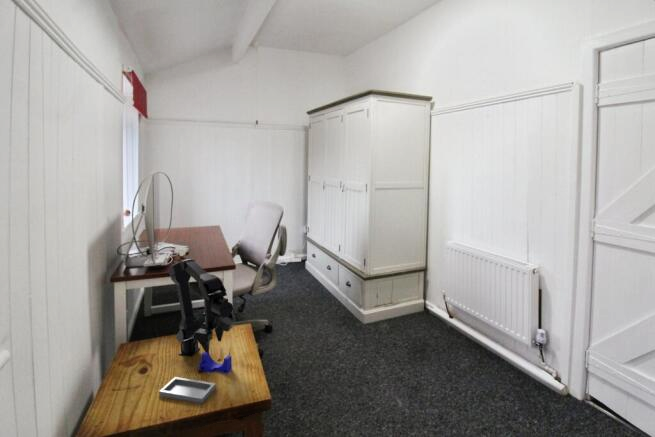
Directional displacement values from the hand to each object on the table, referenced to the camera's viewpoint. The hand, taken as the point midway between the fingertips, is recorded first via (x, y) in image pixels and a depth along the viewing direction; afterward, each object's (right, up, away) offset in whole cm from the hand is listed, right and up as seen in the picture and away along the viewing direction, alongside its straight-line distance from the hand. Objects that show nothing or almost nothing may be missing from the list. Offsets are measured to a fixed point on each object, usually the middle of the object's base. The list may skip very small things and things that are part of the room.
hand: (213, 346), depth 145 cm
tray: (-5, -12, -12) cm, 18 cm away
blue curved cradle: (0, -10, +2) cm, 10 cm away
